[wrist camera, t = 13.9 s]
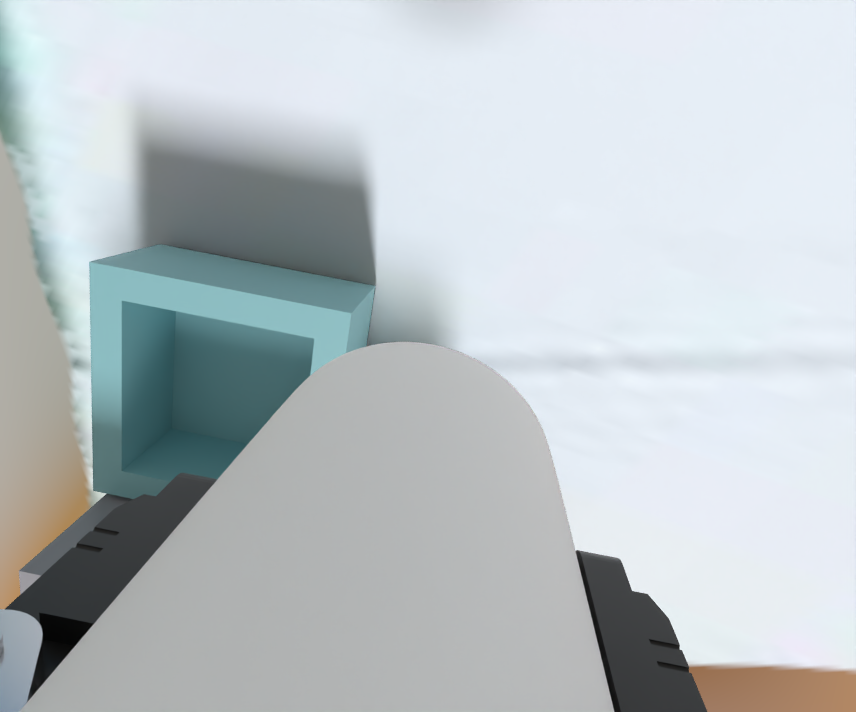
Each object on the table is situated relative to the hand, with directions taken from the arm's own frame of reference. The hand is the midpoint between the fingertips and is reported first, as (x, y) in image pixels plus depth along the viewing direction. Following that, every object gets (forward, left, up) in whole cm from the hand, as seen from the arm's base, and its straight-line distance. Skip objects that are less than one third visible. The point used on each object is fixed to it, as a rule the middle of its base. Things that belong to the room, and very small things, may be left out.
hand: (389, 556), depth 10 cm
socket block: (+6, -10, -22) cm, 25 cm away
